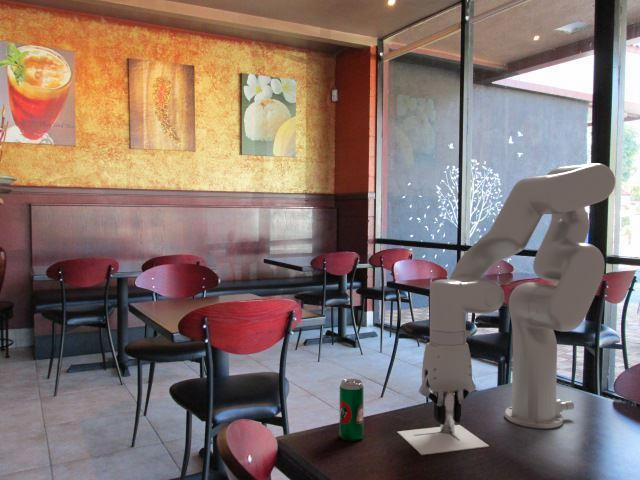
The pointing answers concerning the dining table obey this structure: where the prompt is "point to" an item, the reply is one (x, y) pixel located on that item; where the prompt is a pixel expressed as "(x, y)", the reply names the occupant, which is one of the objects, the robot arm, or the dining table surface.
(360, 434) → the soda can
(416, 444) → the paper
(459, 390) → the robot arm
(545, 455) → the dining table surface
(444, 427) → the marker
